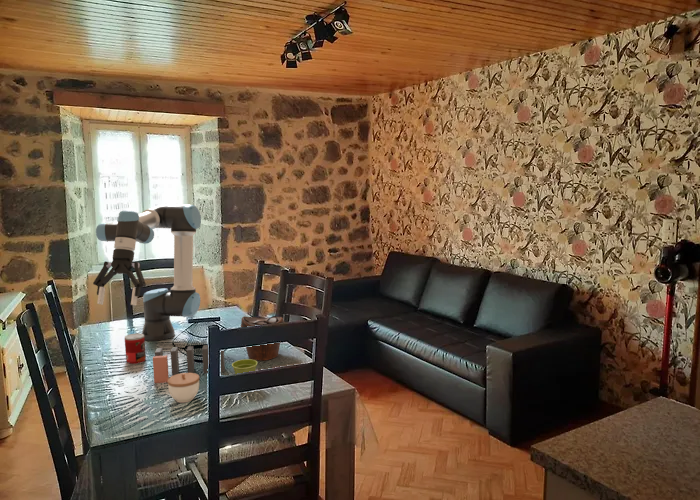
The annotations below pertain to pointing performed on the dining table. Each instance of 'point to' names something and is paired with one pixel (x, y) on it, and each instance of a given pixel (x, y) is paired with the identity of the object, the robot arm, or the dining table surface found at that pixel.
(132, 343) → the canned food
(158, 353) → the domino
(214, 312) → the dining table surface
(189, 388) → the lidded jar
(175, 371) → the domino
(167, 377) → the domino
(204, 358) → the domino
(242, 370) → the plant pot
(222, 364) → the domino
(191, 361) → the domino
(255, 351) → the brown basket
